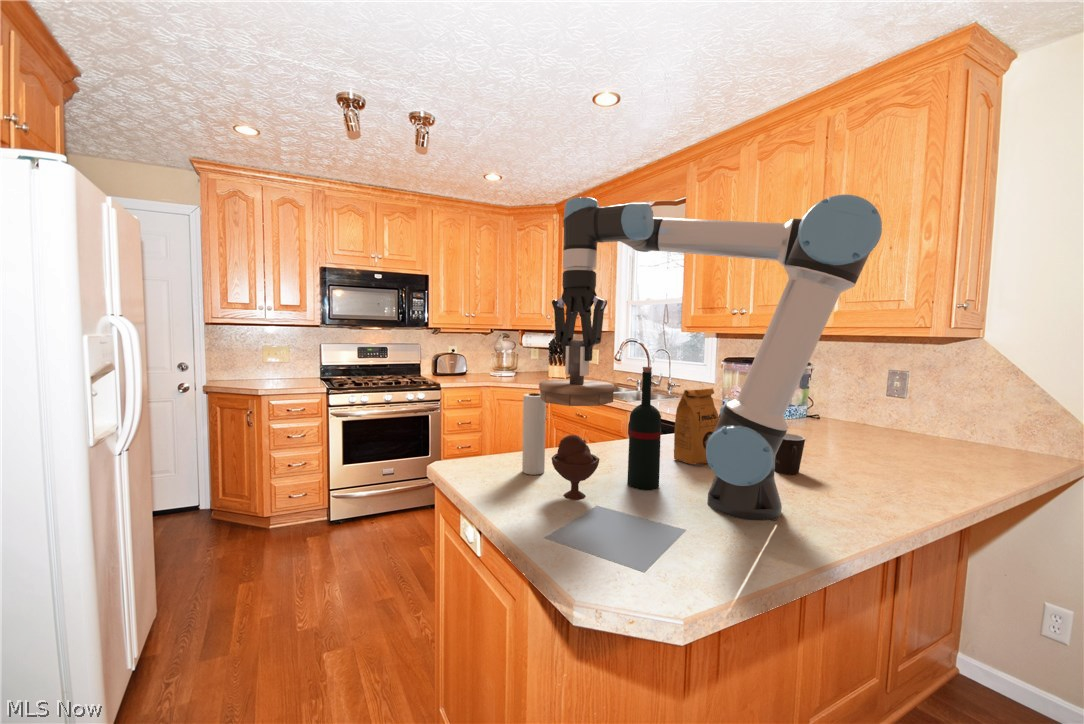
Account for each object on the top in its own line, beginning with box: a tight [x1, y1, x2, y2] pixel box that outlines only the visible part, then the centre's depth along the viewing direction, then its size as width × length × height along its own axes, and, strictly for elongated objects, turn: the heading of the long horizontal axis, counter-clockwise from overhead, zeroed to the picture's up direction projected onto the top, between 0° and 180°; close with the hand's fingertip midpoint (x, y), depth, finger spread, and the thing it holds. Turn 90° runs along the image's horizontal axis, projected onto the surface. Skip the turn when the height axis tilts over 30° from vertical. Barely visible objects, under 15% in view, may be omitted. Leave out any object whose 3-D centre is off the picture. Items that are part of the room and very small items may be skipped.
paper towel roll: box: [521, 392, 547, 476], centre depth 128 cm, size 7×6×21 cm
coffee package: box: [673, 387, 719, 465], centre depth 140 cm, size 10×12×22 cm
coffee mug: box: [774, 432, 806, 476], centre depth 131 cm, size 12×9×10 cm
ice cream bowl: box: [551, 434, 600, 501], centre depth 109 cm, size 11×11×15 cm
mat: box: [543, 505, 687, 573], centre depth 90 cm, size 20×20×1 cm
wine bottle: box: [626, 366, 662, 491], centre depth 119 cm, size 8×10×30 cm
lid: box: [538, 339, 615, 407], centre depth 107 cm, size 17×17×14 cm
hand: (577, 374), depth 107 cm, fingers closed on lid, 3 cm apart
